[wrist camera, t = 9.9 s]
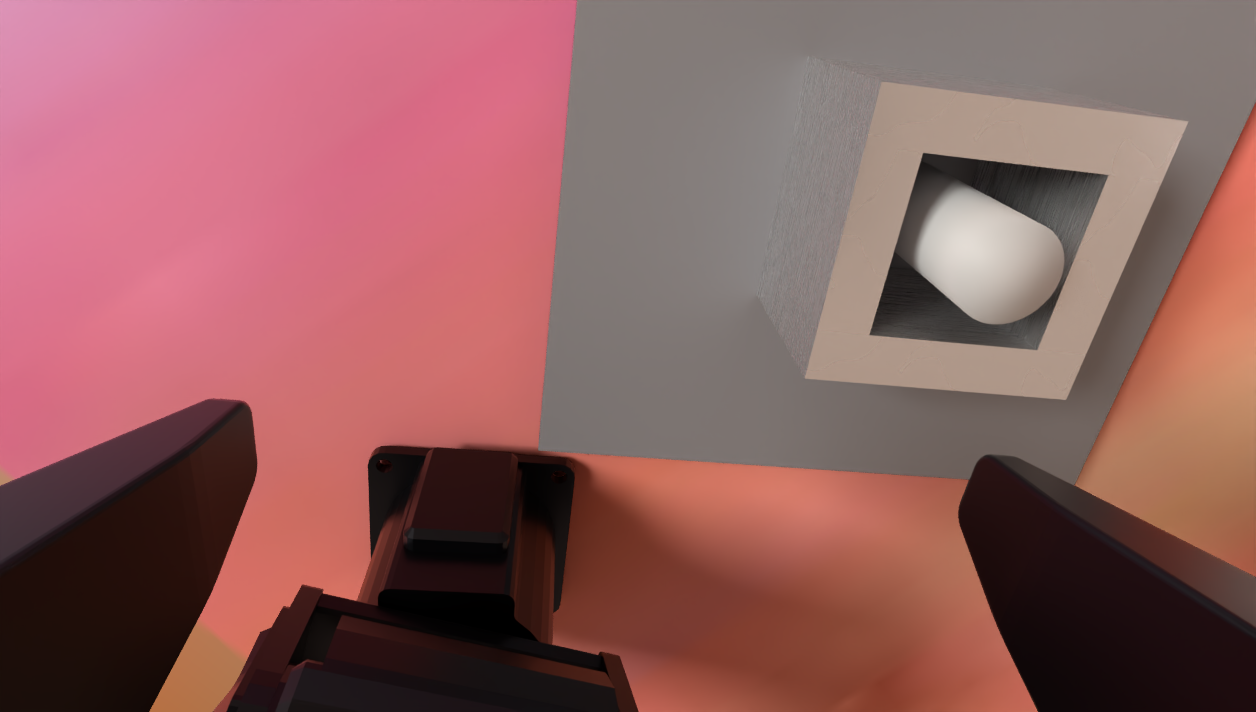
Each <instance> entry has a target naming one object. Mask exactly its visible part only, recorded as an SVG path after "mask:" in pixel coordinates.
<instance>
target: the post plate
mask: <svg viewBox="0 0 1256 712" xmlns="http://www.w3.org/2000/svg"><path fill="white" fill-rule="evenodd" d="M808 56H811V57H819V58H826V59H834V60H841V61H849V62H856V63H864V64H872V65H879V66H887V67H894V68H902V69H909V70H917V71H924V72H932V73H939V74H947V75H954V76H962V77H969V78H977V79H985V80H992V81H1000V82H1007V83H1015V84H1022V85H1030V86H1037V87H1045V88H1050V89H1054V90H1059V91H1063V92H1067V93H1071V94H1075V95H1079V96H1084V97H1088V98H1092V99H1096V100H1100V101H1105V102H1109V103H1113V104H1117V105H1121V106H1126V107H1130V108H1134V109H1138V110H1142V111H1147V112H1151V113H1155V114H1159V115H1163V116H1168V117H1172V118H1176V119H1180V120H1184V121H1189V122H1188V124H1187V126H1186V128H1185V131H1184V133H1183V135H1182V138H1181V140H1180V142H1179V144H1178V147H1177V149H1176V151H1175V153H1174V156H1173V158H1172V160H1171V163H1170V165H1169V167H1168V169H1167V172H1166V174H1165V176H1164V178H1163V181H1162V183H1161V185H1160V188H1159V190H1158V192H1157V194H1156V197H1155V199H1154V201H1153V203H1152V206H1151V208H1150V210H1149V213H1148V215H1147V217H1146V219H1145V222H1144V224H1143V226H1142V228H1141V231H1140V233H1139V235H1138V237H1137V240H1136V242H1135V244H1134V247H1133V249H1132V251H1131V253H1130V256H1129V258H1128V260H1127V262H1126V265H1125V267H1124V269H1123V272H1122V274H1121V276H1120V278H1119V281H1118V283H1117V285H1116V287H1115V290H1114V292H1113V294H1112V297H1111V299H1110V301H1109V303H1108V306H1107V308H1106V310H1105V312H1104V315H1103V317H1102V319H1101V322H1100V324H1099V326H1098V328H1097V331H1096V333H1095V335H1094V337H1093V340H1092V342H1091V344H1090V347H1089V349H1088V351H1087V353H1086V356H1085V358H1084V360H1083V362H1082V365H1081V367H1080V369H1079V372H1078V374H1077V376H1076V378H1075V381H1074V383H1073V385H1072V387H1071V390H1070V392H1069V394H1068V397H1067V399H1066V400H1061V399H1049V398H1037V397H1024V396H1012V395H1000V394H988V393H975V392H963V391H951V390H939V389H926V388H914V387H902V386H890V385H877V384H865V383H853V382H841V381H828V380H816V379H805V378H804V377H803V375H802V373H801V371H800V370H799V368H798V366H797V364H796V363H795V361H794V359H793V357H792V356H791V354H790V352H789V350H788V349H787V347H786V345H785V344H784V342H783V340H782V338H781V337H780V335H779V333H778V331H777V330H776V328H775V326H774V324H773V323H772V321H771V319H770V317H769V316H768V314H767V312H766V311H765V309H764V307H763V305H762V304H761V302H760V300H759V298H758V297H757V290H758V286H759V281H760V277H761V272H762V267H763V263H764V258H765V253H766V249H767V244H768V240H769V235H770V230H771V226H772V221H773V216H774V212H775V207H776V202H777V198H778V193H779V189H780V184H781V179H782V175H783V170H784V165H785V161H786V156H787V152H788V147H789V142H790V138H791V133H792V128H793V124H794V119H795V115H796V110H797V105H798V101H799V96H800V91H801V87H802V82H803V77H804V73H805V68H806V64H807V59H808ZM1255 102H1256V0H577V8H576V19H575V31H574V42H573V54H572V65H571V76H570V88H569V99H568V111H567V122H566V134H565V145H564V157H563V168H562V180H561V191H560V203H559V214H558V226H557V237H556V249H555V260H554V272H553V283H552V295H551V306H550V318H549V329H548V341H547V352H546V364H545V375H544V387H543V398H542V410H541V421H540V433H539V447H538V450H539V451H554V452H569V453H584V454H599V455H613V456H628V457H643V458H658V459H672V460H687V461H702V462H717V463H732V464H746V465H761V466H776V467H791V468H806V469H820V470H835V471H850V472H865V473H879V474H894V475H909V476H924V477H939V478H953V479H968V480H969V479H970V477H971V474H972V472H973V469H974V467H975V464H976V463H977V461H978V460H979V459H980V458H981V457H982V456H984V455H987V454H994V455H1009V456H1015V457H1018V458H1020V459H1022V460H1024V461H1026V462H1028V463H1030V464H1032V465H1034V466H1036V467H1038V468H1040V469H1042V470H1044V471H1046V472H1048V473H1050V474H1052V475H1054V476H1056V477H1058V478H1060V479H1062V480H1064V481H1066V482H1068V483H1070V484H1072V485H1075V483H1076V481H1077V478H1078V476H1079V474H1080V472H1081V470H1082V468H1083V466H1084V464H1085V462H1086V459H1087V457H1088V455H1089V453H1090V451H1091V449H1092V447H1093V445H1094V443H1095V440H1096V438H1097V436H1098V434H1099V432H1100V430H1101V428H1102V426H1103V424H1104V421H1105V419H1106V417H1107V415H1108V413H1109V411H1110V409H1111V407H1112V404H1113V402H1114V400H1115V398H1116V396H1117V394H1118V392H1119V390H1120V388H1121V385H1122V383H1123V381H1124V379H1125V377H1126V375H1127V373H1128V371H1129V369H1130V366H1131V364H1132V362H1133V360H1134V358H1135V356H1136V354H1137V352H1138V350H1139V347H1140V345H1141V343H1142V341H1143V339H1144V337H1145V335H1146V333H1147V331H1148V328H1149V326H1150V324H1151V322H1152V320H1153V318H1154V316H1155V314H1156V312H1157V309H1158V307H1159V305H1160V303H1161V301H1162V299H1163V297H1164V295H1165V293H1166V290H1167V288H1168V286H1169V284H1170V282H1171V280H1172V278H1173V276H1174V274H1175V271H1176V269H1177V267H1178V265H1179V263H1180V261H1181V259H1182V257H1183V254H1184V252H1185V250H1186V248H1187V246H1188V244H1189V242H1190V240H1191V238H1192V235H1193V233H1194V231H1195V229H1196V227H1197V225H1198V223H1199V221H1200V219H1201V216H1202V214H1203V212H1204V210H1205V208H1206V206H1207V204H1208V202H1209V200H1210V197H1211V195H1212V193H1213V191H1214V189H1215V187H1216V185H1217V183H1218V181H1219V178H1220V176H1221V174H1222V172H1223V170H1224V168H1225V166H1226V164H1227V162H1228V159H1229V157H1230V155H1231V153H1232V151H1233V149H1234V147H1235V145H1236V143H1237V140H1238V138H1239V136H1240V134H1241V132H1242V130H1243V128H1244V126H1245V123H1246V121H1247V119H1248V117H1249V115H1250V113H1251V111H1252V109H1253V107H1254V104H1255ZM977 162H978V159H971V158H962V157H954V156H946V155H937V154H929V153H923V155H922V158H921V162H920V165H919V168H918V172H917V175H916V179H915V182H914V185H913V189H912V192H911V196H910V199H909V202H908V206H907V209H906V213H905V216H904V219H903V223H902V226H901V230H900V233H899V236H898V240H897V243H896V247H895V250H894V253H893V257H892V260H891V264H890V267H889V268H899V269H909V270H916V271H917V272H919V273H920V274H921V275H922V276H923V277H924V278H926V279H927V280H928V281H929V282H930V283H931V284H933V285H934V286H935V287H936V288H937V289H938V290H940V291H941V292H942V293H943V294H944V295H945V296H947V297H948V298H949V299H950V300H951V301H952V302H954V303H955V304H956V305H957V306H958V307H959V308H961V309H962V310H963V311H964V312H965V313H966V314H967V315H969V316H970V317H972V318H973V319H975V320H977V321H979V322H983V323H987V324H1006V323H1011V322H1014V321H1017V320H1020V319H1022V318H1024V317H1026V316H1028V315H1030V314H1031V313H1033V312H1034V311H1036V310H1037V309H1038V308H1039V307H1041V306H1042V305H1043V304H1044V303H1045V302H1046V301H1047V300H1048V299H1049V297H1050V296H1051V295H1052V294H1053V292H1054V291H1055V289H1056V287H1057V286H1058V283H1059V281H1060V279H1061V276H1062V273H1063V268H1064V251H1063V247H1062V245H1061V242H1060V240H1059V239H1058V237H1057V236H1056V235H1055V233H1054V232H1053V231H1051V230H1050V229H1049V228H1047V227H1046V226H1044V225H1042V224H1040V223H1038V222H1036V221H1034V220H1032V219H1031V218H1029V217H1027V216H1025V215H1023V214H1021V213H1019V212H1017V211H1016V210H1014V209H1012V208H1010V207H1008V206H1006V205H1004V204H1002V203H1001V202H999V201H997V200H995V199H993V198H991V197H989V196H987V195H985V194H984V193H982V192H980V191H978V190H976V189H974V188H972V187H970V184H971V181H972V178H973V175H974V172H975V169H976V166H977Z"/></svg>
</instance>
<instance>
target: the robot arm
mask: <svg viewBox="0 0 1256 712" xmlns="http://www.w3.org/2000/svg"><path fill="white" fill-rule="evenodd" d="M383 459H385V460H388V461H390V462H391V463H392V465H388V466H387V465H383V464H382V463H381V462H380V460H383ZM556 471H563V472H565V473H566V474H565V475H563V476H559V477H558V476H555V475H554V474H553V473H554V472H556ZM256 472H257V454H256V445H255V436H254V427H253V418H252V412H251V409H250V407H249V405H248V404H247V403H246V402H244V401H240V400H227V399H207V400H204V401H202V402H200V403H197V404H195V405H192V406H190V407H188V408H185V409H183V410H180V411H178V412H176V413H173V414H171V415H169V416H166V417H164V418H161V419H159V420H157V421H154V422H152V423H149V424H147V425H145V426H142V427H140V428H137V429H135V430H133V431H130V432H128V433H125V434H123V435H121V436H118V437H116V438H113V439H111V440H109V441H106V442H104V443H101V444H99V445H97V446H94V447H92V448H89V449H87V450H85V451H82V452H80V453H77V454H75V455H73V456H70V457H68V458H65V459H63V460H61V461H58V462H56V463H54V464H51V465H49V466H46V467H44V468H42V469H39V470H37V471H34V472H32V473H30V474H27V475H25V476H22V477H20V478H18V479H15V480H13V481H10V482H8V483H6V484H3V485H1V486H0V712H149V711H150V709H151V707H152V705H153V703H154V702H155V700H156V698H157V696H158V694H159V692H160V690H161V688H162V686H163V684H164V683H165V681H166V679H167V677H168V675H169V673H170V671H171V669H172V667H173V665H174V664H175V662H176V660H177V658H178V656H179V654H180V652H181V650H182V649H183V647H184V645H185V643H186V641H187V639H188V637H189V635H190V633H191V632H192V629H193V628H194V626H195V624H196V622H197V620H198V618H199V616H200V614H201V613H202V611H203V609H204V607H205V605H206V602H207V600H208V598H209V596H210V594H211V592H212V590H213V587H214V585H215V583H216V580H217V578H218V575H219V573H220V570H221V568H222V565H223V562H224V560H225V557H226V555H227V552H228V549H229V547H230V544H231V542H232V539H233V536H234V534H235V531H236V528H237V526H238V523H239V521H240V518H241V515H242V513H243V510H244V507H245V505H246V502H247V500H248V497H249V494H250V492H251V489H252V487H253V484H254V481H255V477H256ZM368 480H369V511H370V542H371V561H370V564H369V567H368V570H367V573H366V576H365V579H364V582H363V585H362V587H361V590H360V593H359V596H358V599H357V601H354V600H350V599H345V598H341V597H336V596H332V595H327V594H323V589H320V588H316V587H311V586H307V585H302V586H301V588H300V590H299V592H298V593H297V595H296V597H295V599H294V601H293V603H292V604H291V606H290V607H286V606H284V607H283V608H282V610H281V611H280V613H279V615H278V617H277V619H276V620H275V622H274V624H273V626H272V627H271V628H269V629H267V630H264V631H262V632H260V634H259V636H258V638H257V640H256V642H255V645H254V647H253V649H252V651H251V653H250V655H249V657H248V659H247V661H246V664H245V666H244V668H243V670H242V672H241V674H240V676H239V677H238V679H237V681H236V683H235V684H234V686H233V687H232V689H231V690H230V691H229V693H228V694H227V695H226V696H225V697H224V699H223V700H222V701H221V702H220V703H219V705H218V706H217V707H216V708H215V709H214V711H213V712H638V709H637V706H636V703H635V700H634V697H633V694H632V691H631V688H630V685H629V682H628V679H627V677H626V674H625V671H624V668H623V665H622V662H621V659H620V657H619V656H618V655H614V654H609V653H605V652H600V653H599V655H596V654H591V653H587V652H582V651H578V650H573V649H569V648H564V647H560V646H556V645H552V639H553V613H554V612H556V611H557V610H558V609H559V606H560V601H561V593H562V584H563V575H564V567H565V558H566V549H567V541H568V532H569V523H570V514H571V506H572V497H573V488H574V480H575V470H574V465H573V464H572V462H571V461H569V460H568V459H565V458H561V457H547V456H532V455H517V454H512V453H510V452H497V451H482V450H467V449H452V448H434V449H427V448H412V447H397V446H381V447H378V448H376V449H375V450H374V451H373V453H372V454H371V457H370V459H369V463H368ZM958 518H959V524H960V527H961V530H962V533H963V535H964V538H965V541H966V544H967V546H968V549H969V552H970V555H971V557H972V560H973V563H974V565H975V568H976V571H977V574H978V576H979V579H980V582H981V585H982V587H983V590H984V593H985V596H986V598H987V601H988V604H989V607H990V609H991V612H992V614H993V617H994V619H995V622H996V624H997V627H998V629H999V631H1000V634H1001V636H1002V638H1003V640H1004V642H1005V645H1006V647H1007V649H1008V651H1009V653H1010V655H1011V657H1012V659H1013V661H1014V663H1015V665H1016V667H1017V669H1018V672H1019V674H1020V676H1021V678H1022V680H1023V682H1024V684H1025V686H1026V688H1027V690H1028V692H1029V694H1030V696H1031V698H1032V700H1033V702H1034V704H1035V707H1036V709H1037V711H1038V712H1256V577H1255V576H1253V575H1251V574H1249V573H1247V572H1245V571H1243V570H1241V569H1239V568H1237V567H1235V566H1233V565H1231V564H1229V563H1227V562H1225V561H1223V560H1221V559H1219V558H1217V557H1215V556H1213V555H1211V554H1209V553H1207V552H1205V551H1203V550H1201V549H1199V548H1197V547H1195V546H1193V545H1191V544H1189V543H1187V542H1185V541H1183V540H1181V539H1179V538H1177V537H1175V536H1173V535H1171V534H1169V533H1167V532H1165V531H1163V530H1161V529H1159V528H1157V527H1155V526H1153V525H1151V524H1149V523H1147V522H1145V521H1143V520H1142V519H1140V518H1138V517H1136V516H1134V515H1132V514H1130V513H1128V512H1126V511H1124V510H1122V509H1120V508H1118V507H1116V506H1114V505H1112V504H1110V503H1108V502H1106V501H1104V500H1102V499H1100V498H1098V497H1096V496H1094V495H1092V494H1090V493H1088V492H1086V491H1084V490H1082V489H1080V488H1078V487H1076V486H1074V485H1072V484H1070V483H1068V482H1066V481H1064V480H1062V479H1060V478H1058V477H1056V476H1054V475H1052V474H1050V473H1048V472H1046V471H1044V470H1042V469H1040V468H1038V467H1036V466H1034V465H1032V464H1030V463H1028V462H1026V461H1024V460H1022V459H1020V458H1018V457H1015V456H1009V455H994V454H987V455H984V456H982V457H981V458H980V459H979V460H978V461H977V463H976V464H975V467H974V469H973V472H972V474H971V477H970V479H969V482H968V484H967V487H966V489H965V492H964V494H963V497H962V499H961V502H960V505H959V511H958Z"/></svg>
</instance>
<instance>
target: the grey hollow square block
mask: <svg viewBox="0 0 1256 712" xmlns="http://www.w3.org/2000/svg"><path fill="white" fill-rule="evenodd" d="M1188 122H1189V121H1184V120H1180V119H1176V118H1172V117H1168V116H1163V115H1159V114H1155V113H1151V112H1147V111H1142V110H1138V109H1134V108H1130V107H1126V106H1121V105H1117V104H1113V103H1109V102H1105V101H1100V100H1096V99H1092V98H1088V97H1084V96H1079V95H1075V94H1071V93H1067V92H1063V91H1059V90H1054V89H1050V88H1045V87H1037V86H1030V85H1022V84H1015V83H1007V82H1000V81H992V80H985V79H977V78H969V77H962V76H954V75H947V74H939V73H932V72H924V71H917V70H909V69H902V68H894V67H887V66H879V65H872V64H864V63H856V62H849V61H841V60H834V59H826V58H819V57H811V56H808V59H807V64H806V68H805V73H804V77H803V82H802V87H801V91H800V96H799V101H798V105H797V110H796V115H795V119H794V124H793V128H792V133H791V138H790V142H789V147H788V152H787V156H786V161H785V165H784V170H783V175H782V179H781V184H780V189H779V193H778V198H777V202H776V207H775V212H774V216H773V221H772V226H771V230H770V235H769V240H768V244H767V249H766V253H765V258H764V263H763V267H762V272H761V277H760V281H759V286H758V290H757V297H758V298H759V300H760V302H761V304H762V305H763V307H764V309H765V311H766V312H767V314H768V316H769V317H770V319H771V321H772V323H773V324H774V326H775V328H776V330H777V331H778V333H779V335H780V337H781V338H782V340H783V342H784V344H785V345H786V347H787V349H788V350H789V352H790V354H791V356H792V357H793V359H794V361H795V363H796V364H797V366H798V368H799V370H800V371H801V373H802V375H803V377H804V378H805V379H816V380H828V381H841V382H853V383H865V384H877V385H890V386H902V387H914V388H926V389H939V390H951V391H963V392H975V393H988V394H1000V395H1012V396H1024V397H1037V398H1049V399H1061V400H1066V399H1067V397H1068V394H1069V392H1070V390H1071V387H1072V385H1073V383H1074V381H1075V378H1076V376H1077V374H1078V372H1079V369H1080V367H1081V365H1082V362H1083V360H1084V358H1085V356H1086V353H1087V351H1088V349H1089V347H1090V344H1091V342H1092V340H1093V337H1094V335H1095V333H1096V331H1097V328H1098V326H1099V324H1100V322H1101V319H1102V317H1103V315H1104V312H1105V310H1106V308H1107V306H1108V303H1109V301H1110V299H1111V297H1112V294H1113V292H1114V290H1115V287H1116V285H1117V283H1118V281H1119V278H1120V276H1121V274H1122V272H1123V269H1124V267H1125V265H1126V262H1127V260H1128V258H1129V256H1130V253H1131V251H1132V249H1133V247H1134V244H1135V242H1136V240H1137V237H1138V235H1139V233H1140V231H1141V228H1142V226H1143V224H1144V222H1145V219H1146V217H1147V215H1148V213H1149V210H1150V208H1151V206H1152V203H1153V201H1154V199H1155V197H1156V194H1157V192H1158V190H1159V188H1160V185H1161V183H1162V181H1163V178H1164V176H1165V174H1166V172H1167V169H1168V167H1169V165H1170V163H1171V160H1172V158H1173V156H1174V153H1175V151H1176V149H1177V147H1178V144H1179V142H1180V140H1181V138H1182V135H1183V133H1184V131H1185V128H1186V126H1187V124H1188ZM923 153H929V154H937V155H946V156H954V157H962V158H971V159H978V162H977V166H976V169H975V172H974V175H973V178H972V181H971V184H970V187H972V188H974V189H976V190H978V191H980V192H982V193H984V194H985V195H987V196H989V197H991V198H993V199H995V200H997V201H999V202H1001V203H1002V204H1004V205H1006V206H1008V207H1010V208H1012V209H1014V210H1016V211H1017V212H1019V213H1021V214H1023V215H1025V216H1027V217H1029V218H1031V219H1032V220H1034V221H1036V222H1038V223H1040V224H1042V225H1044V226H1046V227H1047V228H1049V229H1050V230H1051V231H1053V232H1054V233H1055V235H1056V236H1057V237H1058V239H1059V240H1060V242H1061V245H1062V247H1063V251H1064V268H1063V273H1062V276H1061V279H1060V281H1059V283H1058V286H1057V287H1056V289H1055V291H1054V292H1053V294H1052V295H1051V296H1050V297H1049V299H1048V300H1047V301H1046V302H1045V303H1044V304H1043V305H1042V306H1041V307H1039V308H1038V309H1037V310H1036V311H1034V312H1033V313H1031V314H1030V315H1028V316H1026V317H1024V318H1022V319H1020V320H1017V321H1014V322H1011V323H1006V324H987V323H983V322H979V321H977V320H975V319H973V318H972V317H970V316H969V315H967V314H966V313H965V312H964V311H963V310H962V309H961V308H959V307H958V306H957V305H956V304H955V303H954V302H952V301H951V300H950V299H949V298H948V297H947V296H945V295H944V294H943V293H942V292H941V291H940V290H938V289H937V288H936V287H935V286H934V285H933V284H931V283H930V282H929V281H928V280H927V279H926V278H924V277H923V276H922V275H921V274H920V273H919V272H917V271H916V270H909V269H899V268H889V267H890V264H891V260H892V257H893V253H894V250H895V247H896V243H897V240H898V236H899V233H900V230H901V226H902V223H903V219H904V216H905V213H906V209H907V206H908V202H909V199H910V196H911V192H912V189H913V185H914V182H915V179H916V175H917V172H918V168H919V165H920V162H921V158H922V155H923Z"/></svg>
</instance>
